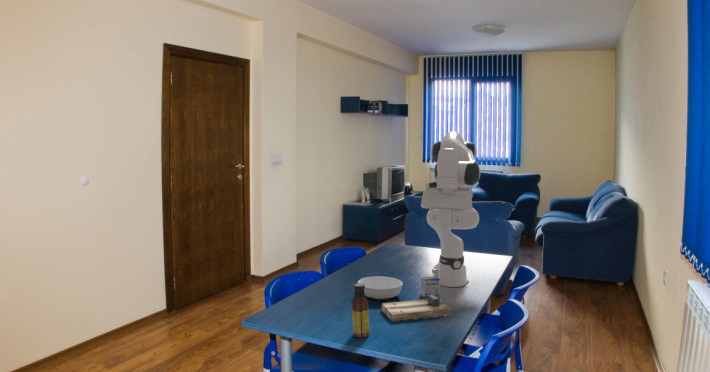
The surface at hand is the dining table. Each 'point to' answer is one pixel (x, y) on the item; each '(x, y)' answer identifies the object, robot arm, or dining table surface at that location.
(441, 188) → the robot arm
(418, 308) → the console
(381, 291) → the serving bowl
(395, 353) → the dining table surface
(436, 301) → the fader
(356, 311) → the sauce bottle
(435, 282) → the medicine box
